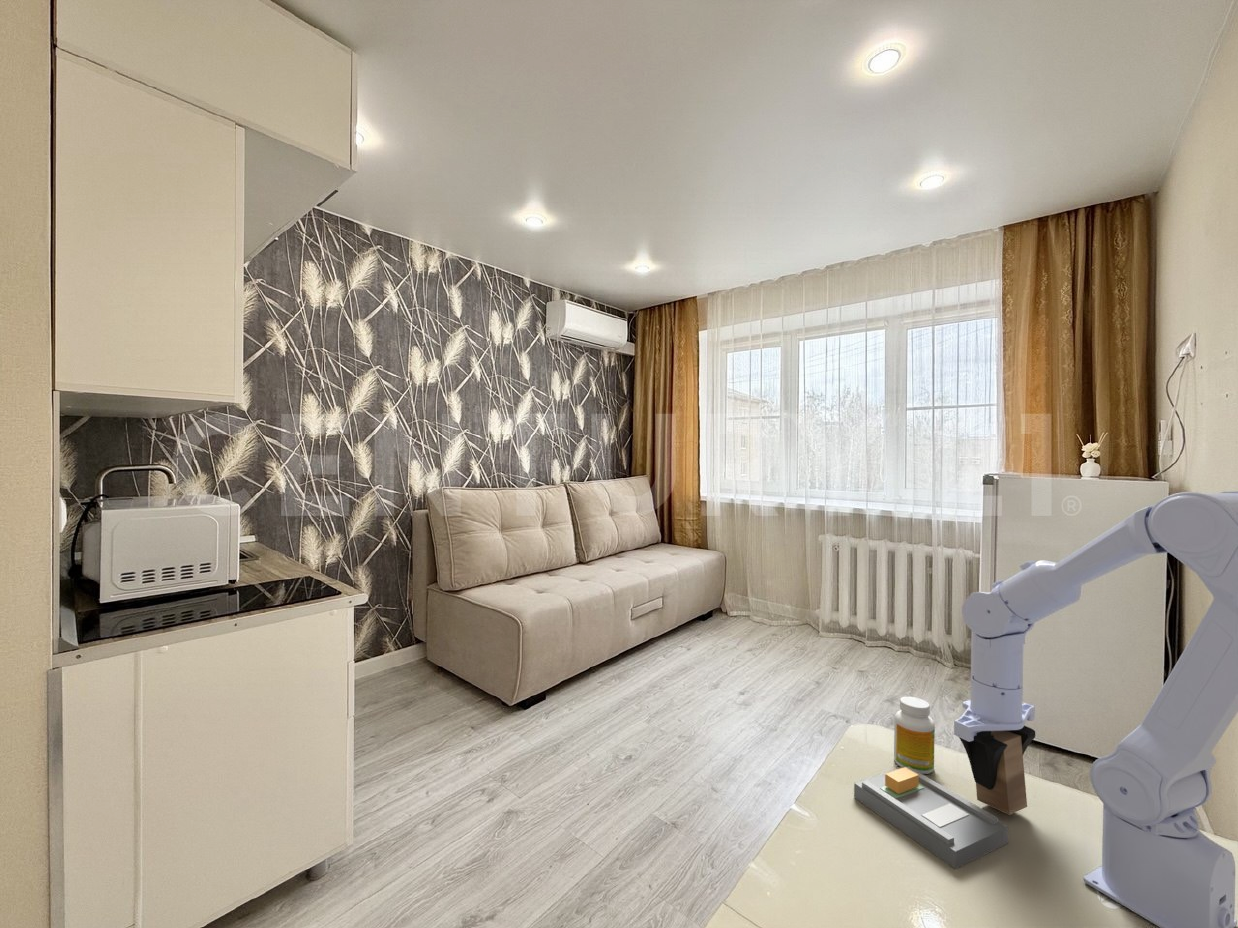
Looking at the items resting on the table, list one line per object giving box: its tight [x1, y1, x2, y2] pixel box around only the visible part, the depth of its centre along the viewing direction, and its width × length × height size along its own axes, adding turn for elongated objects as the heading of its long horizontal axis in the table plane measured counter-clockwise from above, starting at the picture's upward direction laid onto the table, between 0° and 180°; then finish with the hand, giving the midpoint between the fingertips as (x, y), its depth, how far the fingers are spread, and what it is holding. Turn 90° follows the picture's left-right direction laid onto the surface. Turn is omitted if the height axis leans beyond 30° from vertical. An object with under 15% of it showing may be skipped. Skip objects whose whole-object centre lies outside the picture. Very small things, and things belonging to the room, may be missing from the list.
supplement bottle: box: [893, 696, 936, 775], centre depth 81 cm, size 5×5×10 cm
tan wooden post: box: [975, 730, 1028, 816], centre depth 71 cm, size 4×4×9 cm
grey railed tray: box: [853, 766, 1009, 870], centre depth 69 cm, size 14×10×3 cm
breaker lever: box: [885, 767, 919, 794], centre depth 72 cm, size 2×4×2 cm, turn 115°
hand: (994, 780), depth 72 cm, fingers open, 4 cm apart
